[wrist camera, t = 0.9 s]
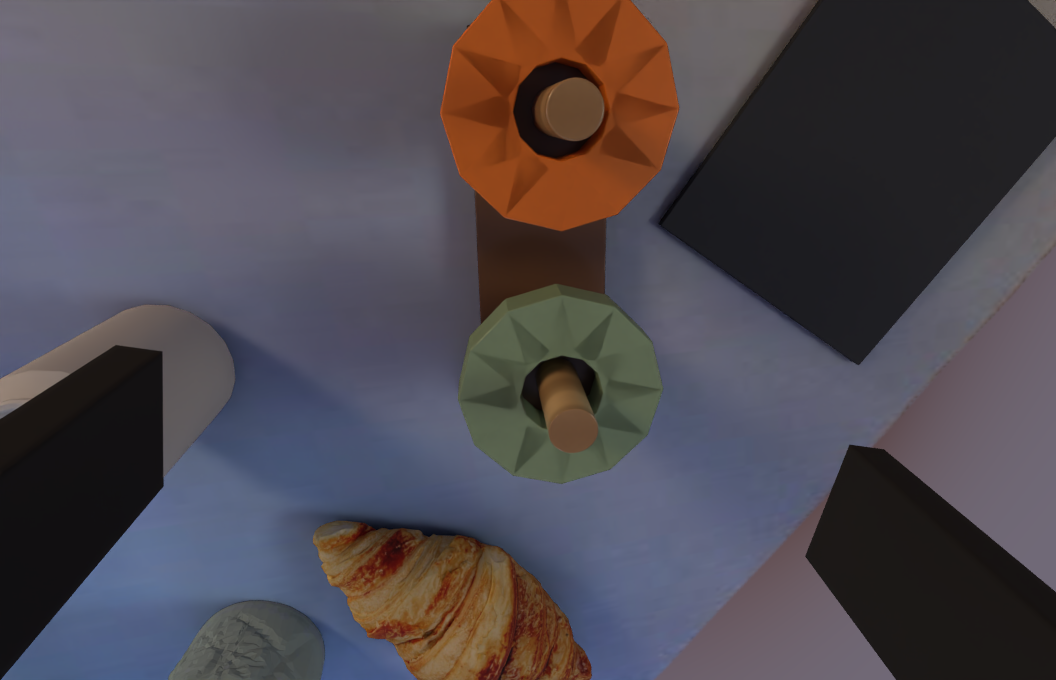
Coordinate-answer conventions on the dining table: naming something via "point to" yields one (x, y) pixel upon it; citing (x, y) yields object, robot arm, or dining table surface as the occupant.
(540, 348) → the green disc
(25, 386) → the can
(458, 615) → the croissant
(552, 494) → the dining table surface
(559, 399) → the peg rack
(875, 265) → the mat
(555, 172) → the orange disc
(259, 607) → the grey embossed cup
